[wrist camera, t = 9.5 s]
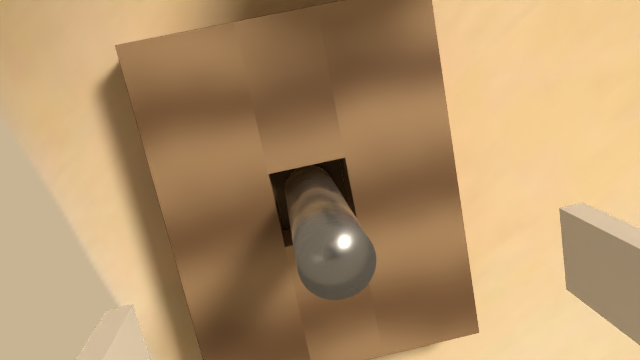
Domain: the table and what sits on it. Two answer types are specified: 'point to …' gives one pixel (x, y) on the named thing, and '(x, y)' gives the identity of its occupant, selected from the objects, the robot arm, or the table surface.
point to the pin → (327, 236)
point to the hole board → (297, 151)
